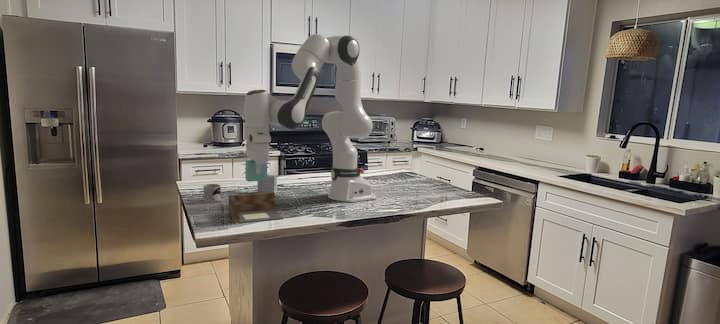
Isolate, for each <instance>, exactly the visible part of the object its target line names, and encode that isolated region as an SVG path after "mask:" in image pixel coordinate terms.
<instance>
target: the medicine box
mask: <svg viewBox="0 0 720 324" xmlns="http://www.w3.org/2000/svg"><path fill="white" fill-rule="evenodd" d="M277 176H278V175H277V174H270V173H267V181H257V193H271V192H274V193H275V194H277V192H278V182H277V181H278V177H277Z"/></svg>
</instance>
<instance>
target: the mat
mask: <svg viewBox="0 0 720 324" xmlns="http://www.w3.org/2000/svg"><path fill="white" fill-rule="evenodd" d="M278 220H284V217H283V216H282V215H281V214H280V213H279V212H278V211H277V210H276V209H271V210H260V211H248V212H240V223H239V224H246V223H256V222H257V223H258V222H265V221H267V222H269V221H278Z"/></svg>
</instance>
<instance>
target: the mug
mask: <svg viewBox="0 0 720 324" xmlns="http://www.w3.org/2000/svg"><path fill="white" fill-rule="evenodd" d="M221 189H222V187H221V185H220V184H219V183H218V184H217V183H207V184H204V185H203V202H204V203H206V204H217V203H220V202H221V195H222V190H221Z"/></svg>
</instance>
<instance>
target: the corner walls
mask: <svg viewBox="0 0 720 324" xmlns="http://www.w3.org/2000/svg"><path fill="white" fill-rule="evenodd" d="M275 196H276V193H274V192H271V193H258V192H257V193H245V194H244V193H243V194H230V195H228V214H229V216H230V217H231V220H232V221H233V222H234V224H235V223H238V224H241V223H240V212H248V211H260V210H271V209H275V200H276V198H275ZM275 210H276V209H275Z"/></svg>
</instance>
